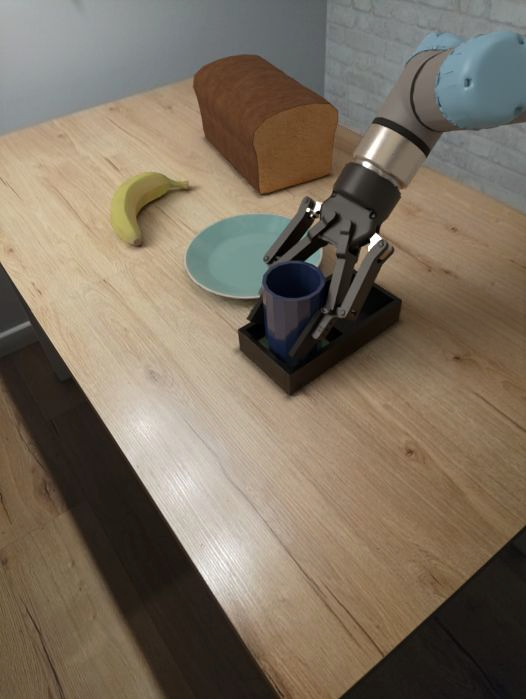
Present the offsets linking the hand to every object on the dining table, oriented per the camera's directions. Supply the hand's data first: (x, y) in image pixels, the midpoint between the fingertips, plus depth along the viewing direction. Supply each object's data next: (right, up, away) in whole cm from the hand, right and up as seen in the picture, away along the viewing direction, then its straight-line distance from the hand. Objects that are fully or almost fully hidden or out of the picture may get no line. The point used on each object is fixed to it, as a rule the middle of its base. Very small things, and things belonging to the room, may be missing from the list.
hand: (274, 338), depth 65 cm
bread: (-1, +40, +44) cm, 59 cm away
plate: (-3, +12, +19) cm, 23 cm away
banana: (-22, +24, +31) cm, 45 cm away
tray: (+7, +1, +7) cm, 10 cm away
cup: (+3, -1, +4) cm, 5 cm away
